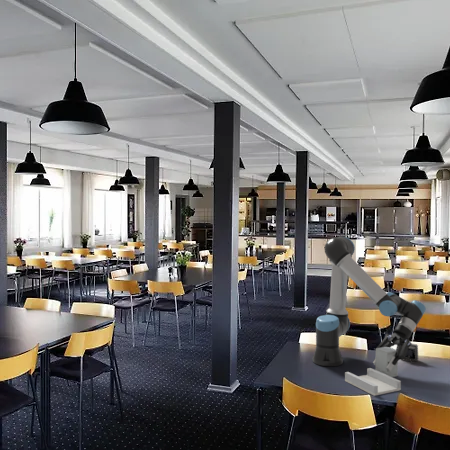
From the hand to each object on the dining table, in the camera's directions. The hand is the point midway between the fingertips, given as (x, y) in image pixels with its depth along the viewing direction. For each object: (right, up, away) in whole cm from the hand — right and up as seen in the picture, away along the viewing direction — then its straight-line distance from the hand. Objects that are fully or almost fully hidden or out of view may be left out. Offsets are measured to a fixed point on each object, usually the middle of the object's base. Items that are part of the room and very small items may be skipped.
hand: (381, 366), depth 217 cm
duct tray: (-8, -5, -11) cm, 15 cm away
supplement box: (+3, -5, +2) cm, 6 cm away
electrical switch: (+23, -4, +24) cm, 33 cm away
